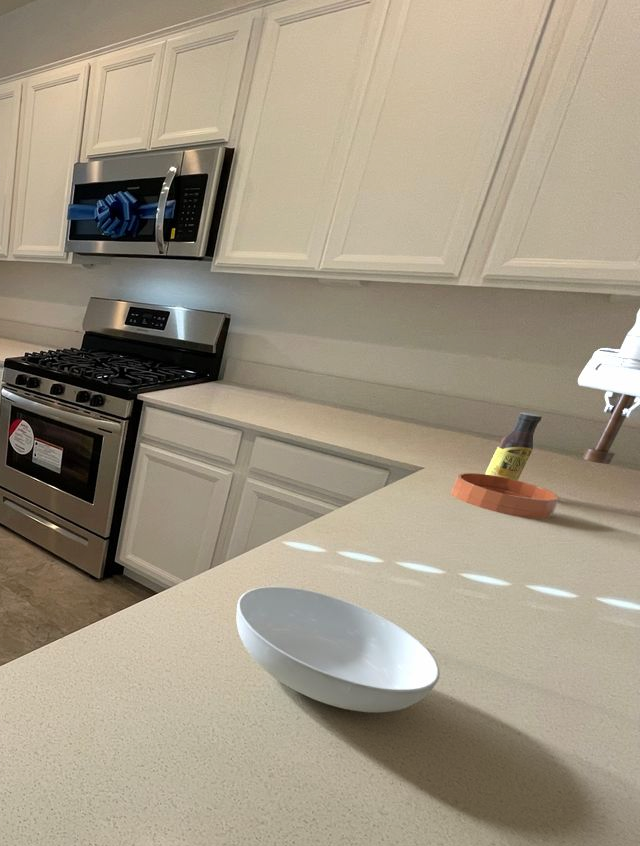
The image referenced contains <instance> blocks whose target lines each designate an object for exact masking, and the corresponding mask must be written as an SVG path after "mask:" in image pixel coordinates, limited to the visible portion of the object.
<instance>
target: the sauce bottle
mask: <svg viewBox="0 0 640 846" xmlns="http://www.w3.org/2000/svg"><path fill="white" fill-rule="evenodd" d="M542 418H543V416H541V415H539V414H534V413H529V412H519V414H518V416H517V420H516V422H515V425H514V426H513V429H512V430H511V431H509V432H508V433H506V434H505V435H504V436H502V438H501V440H500V442H499V445H498V446H497V447H496V449H495V452H494V454H493V456H492V457H491V459H490V462H489V464H488V466H487V469H486V470H485V472H484V474H487V475H494V476H499V477H504V478H509V479H514V480H518V481H519V479H520V477H521V474H522V473H523V470H524V469H525V466H526V464H527V461H528V460H529V458H530V456H531V454H532V453H533V449H534V433H535V430H536V429H537V426H538V424H539V423H540V422H541V421H542Z"/></svg>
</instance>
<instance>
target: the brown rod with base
mask: <svg viewBox="0 0 640 846" xmlns="http://www.w3.org/2000/svg"><path fill="white" fill-rule="evenodd" d="M635 398H636V397H635V396H630V395H625V394H621V396H620V398H618V402H617V404H616V406H615V408H614V410H613V412H612V414H610V416H609V418H608V420H607V422H606V424H605V426H604V428H603V430H602V432H601V434H600V436H599V438H598V440H597V443H596V445H595V446H594V447H591V446H590V447H589V446H588V447H586V449H585V451H584V453H583V455H582V457H581V458H582V459H583V460H585V461H588V462H592V463H598V464H603V465H604V464H605V465H610V464H612V461H613V460H614V457H615V456H616V452H614V451H611V447H612V446H613V444H614V441H615V440H616V438H617V436H618V434H619V432H620V430H621V428H622V426H623V424H624V422H625V421H626V418H627V417H623V416H622V413H623V410H624V409H625V408H626V409H629V408H631V407H632V406H633V405H634V403H635V402H634V400H635Z"/></svg>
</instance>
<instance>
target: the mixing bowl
mask: <svg viewBox="0 0 640 846" xmlns="http://www.w3.org/2000/svg"><path fill="white" fill-rule="evenodd" d="M449 495H452V496H453V497H455V498H456V499H458V500H460V501H463V502H464V503H467V504H470V505H472V506H475V507H478V508H481V509H485V510H489V511H492V512H495V513H499V514H505V515H509V516H514V517H519V518H527V519H539V520H542V519H550V518H551V517H552V516H553V514H554V512H555V509H556V507H557V506H558V503H559V501H560V500H561V497H560V496H559V495H558V494H557V493H555V492H553V491H552V490H549V489H546V488H544V487H541V486H540V485H536V484H533V483H529V482H526V481H521V480H519V479H518V480H514V479H509V478H504V477H499V476H494V475H487V474H485V473H479V472H461V473H459V474H457V475H456V477H455V481H454V482H453V485H452V487H451V490H450V492H449Z"/></svg>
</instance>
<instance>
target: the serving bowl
mask: <svg viewBox="0 0 640 846" xmlns="http://www.w3.org/2000/svg"><path fill="white" fill-rule="evenodd" d="M235 616H236V618H235V619H236V628H237V632H238V635H239V638H240V639H241V642H242V644H243V646H244V647H245V649H246V650H247V652H248V654H249V655H250V657H252V659H253V660H254V661H255V662H256V663H257V664H258V665H259V666H260V668H262V669H263V670H264V671H265V672H267V673H268V674H269V675H271V676H272V677H273V678H274V679H276V680H277V681H278V682H280V683H282V684H283V685H285V686H287V687H288V688H291V689H292V690H294V691H296V692H298V693H300V694H302V695H303V696H306V697H308V698H310V699H312V700H315V701H317V702H320V703H323V704H325V705H328V706H333V707H336V708H340V709H343V710H349V711H354V712H361V713H389V712H395V711H400V710H403V709H406V708H409V707H411V706H413V705H415V704H416V703H418V702H420V701H421V700H422V699H424V698H426V696H427V695H428V694H429V693H430V692H431V691H432V690H433V688H434V687H435V686H436V684H437V683H438V681H439V680H440V667H439V665H438V662H437V660H436V658H435V656H433V654H432V653H431V652H430V651H429V649H428V648H427V647H426V646H425V645H424V644H423V643H422V642H421V641H419V640H418V639H417V638H416V637H414V636H413V635H412V634H410V632H407V631H406V630H405V629H404V628H402V627H401V626H399V625H397V624H395V623H394V622H392V621H390V620H389V619H387V618H386V617H383V616H382V615H380V614H378V613H376V612H373V611H372V610H369V609H367V608H365V607H363V606H360V605H358V604H355V603H353V602H350V601H347V600H344V599H341V598H338V597H335V596H332V595H328V594H325V593H321V592H317V591H313V590H308V589H304V588H298V587H289V586H262V587H261V586H260V587H257V588H254V589H249V590H247V591H246V592H244V593H243V594H241V596H240V597H239V598H238V601H237V604H236V615H235Z"/></svg>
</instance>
